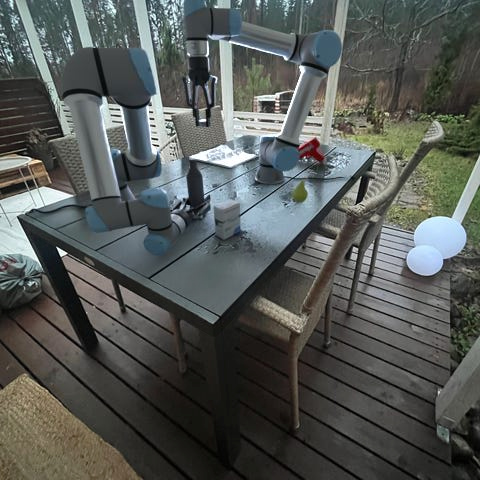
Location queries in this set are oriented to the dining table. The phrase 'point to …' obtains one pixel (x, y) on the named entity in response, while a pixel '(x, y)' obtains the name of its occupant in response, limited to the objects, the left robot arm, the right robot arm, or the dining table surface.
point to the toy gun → (311, 150)
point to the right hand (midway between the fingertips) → (203, 126)
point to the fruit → (300, 192)
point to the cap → (202, 123)
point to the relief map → (224, 156)
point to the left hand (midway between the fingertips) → (201, 196)
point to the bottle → (194, 184)
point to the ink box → (227, 218)
